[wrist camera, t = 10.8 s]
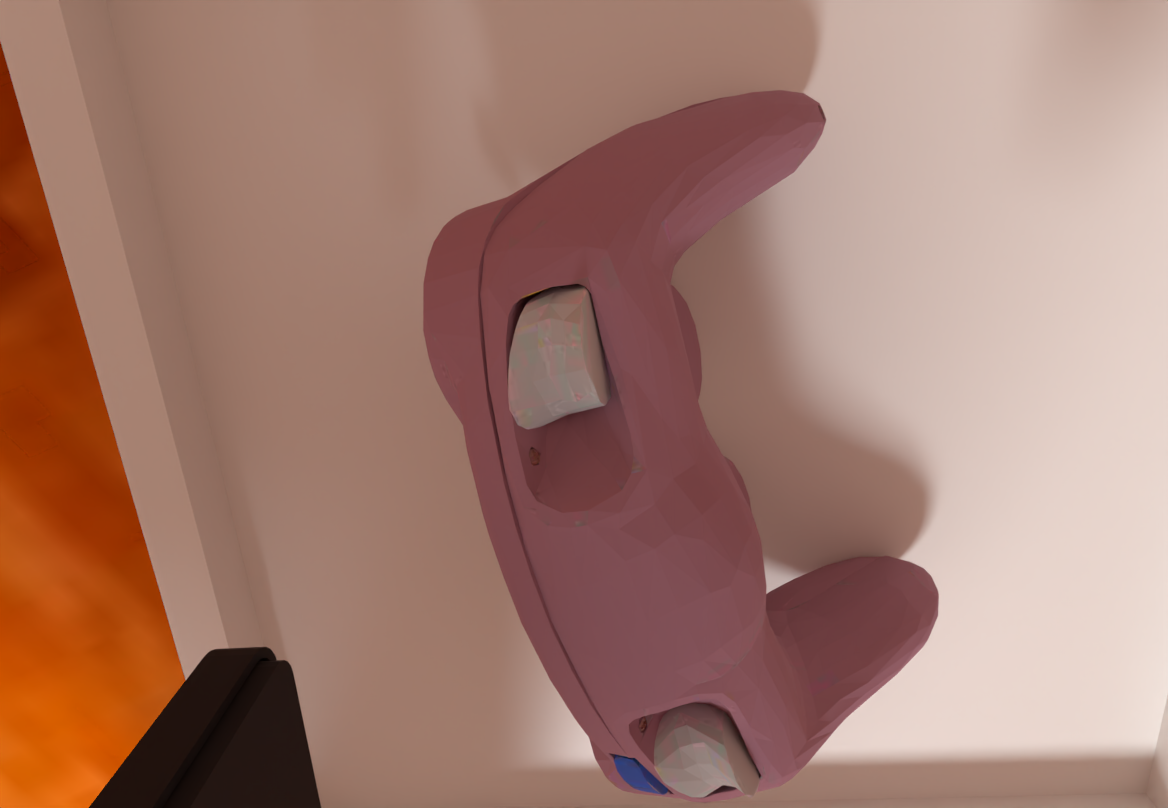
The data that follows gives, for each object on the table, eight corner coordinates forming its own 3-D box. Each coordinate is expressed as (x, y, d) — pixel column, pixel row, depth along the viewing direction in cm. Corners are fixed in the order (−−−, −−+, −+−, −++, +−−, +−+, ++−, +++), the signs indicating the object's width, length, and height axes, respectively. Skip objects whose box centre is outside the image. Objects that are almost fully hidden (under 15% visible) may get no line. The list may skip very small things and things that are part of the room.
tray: (1162, 798, 18) (1225, 878, 16) (283, 816, 20) (247, 894, 18) (1424, -324, 11) (1584, -405, 9) (23, -188, 12) (-82, -238, 11)
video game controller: (571, 138, 15) (275, 266, 9) (828, 48, 12) (627, 154, 7) (726, 594, 18) (574, 888, 12) (955, 599, 15) (888, 972, 10)
